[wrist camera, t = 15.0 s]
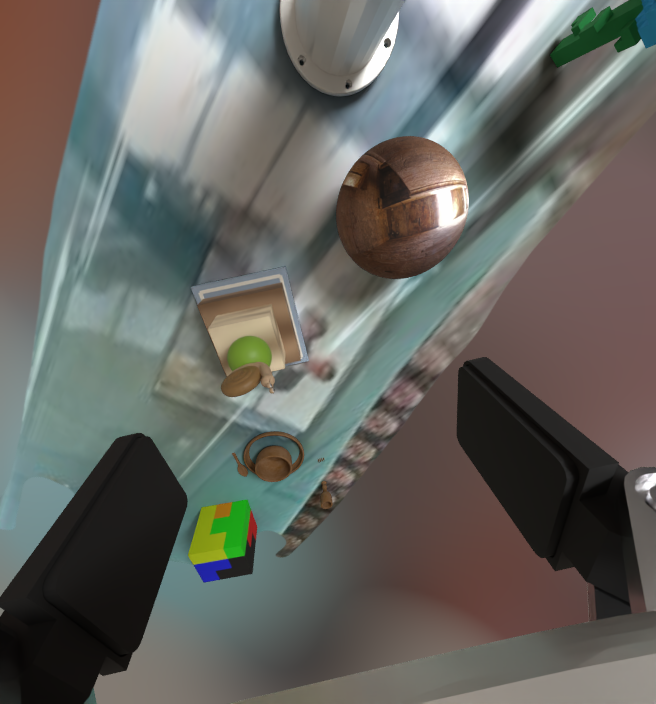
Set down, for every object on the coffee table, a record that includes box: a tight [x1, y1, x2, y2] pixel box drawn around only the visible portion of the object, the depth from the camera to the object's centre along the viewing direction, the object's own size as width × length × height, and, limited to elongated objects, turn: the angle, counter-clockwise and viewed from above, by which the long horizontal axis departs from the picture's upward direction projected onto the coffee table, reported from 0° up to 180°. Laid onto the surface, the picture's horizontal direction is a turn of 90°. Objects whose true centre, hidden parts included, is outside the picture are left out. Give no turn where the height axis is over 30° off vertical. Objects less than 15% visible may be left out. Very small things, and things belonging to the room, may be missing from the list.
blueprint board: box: [191, 266, 309, 366], centre depth 47 cm, size 16×14×1 cm
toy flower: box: [550, 0, 656, 68], centre depth 28 cm, size 9×9×18 cm
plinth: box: [197, 282, 301, 377], centre depth 43 cm, size 12×12×8 cm
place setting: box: [232, 431, 332, 509], centre depth 60 cm, size 18×20×6 cm
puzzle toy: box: [188, 500, 257, 582], centre depth 63 cm, size 10×10×10 cm
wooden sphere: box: [336, 136, 469, 279], centre depth 35 cm, size 15×15×15 cm
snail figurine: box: [221, 336, 275, 397], centre depth 34 cm, size 5×6×12 cm
